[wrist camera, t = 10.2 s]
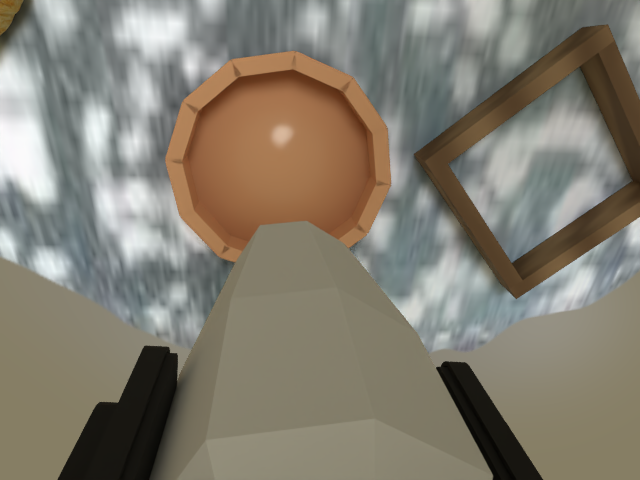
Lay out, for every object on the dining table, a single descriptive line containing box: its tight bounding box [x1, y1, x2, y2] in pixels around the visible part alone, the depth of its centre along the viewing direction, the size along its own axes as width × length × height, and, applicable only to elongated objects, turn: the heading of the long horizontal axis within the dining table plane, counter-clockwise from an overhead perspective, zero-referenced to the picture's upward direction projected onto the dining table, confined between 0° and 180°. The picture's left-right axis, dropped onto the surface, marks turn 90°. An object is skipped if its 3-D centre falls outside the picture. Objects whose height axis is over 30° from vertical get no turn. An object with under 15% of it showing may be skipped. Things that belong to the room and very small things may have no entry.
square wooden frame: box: [414, 24, 640, 299], centre depth 39 cm, size 17×17×3 cm
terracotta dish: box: [165, 51, 391, 262], centre depth 36 cm, size 17×17×4 cm
